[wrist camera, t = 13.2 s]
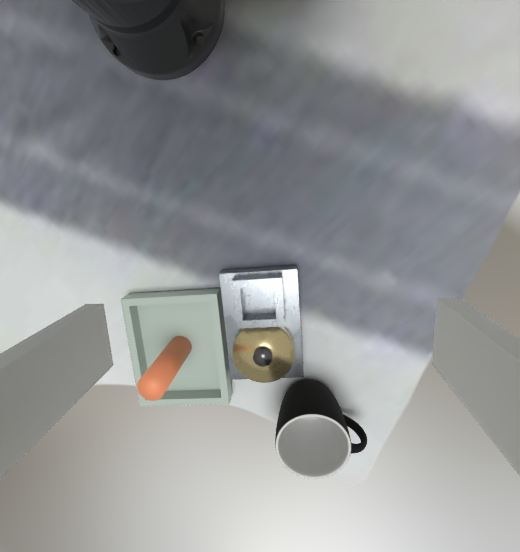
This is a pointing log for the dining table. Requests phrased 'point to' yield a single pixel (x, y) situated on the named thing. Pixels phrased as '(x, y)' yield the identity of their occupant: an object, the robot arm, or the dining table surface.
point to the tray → (191, 324)
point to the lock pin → (164, 369)
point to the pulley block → (262, 322)
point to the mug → (314, 432)
